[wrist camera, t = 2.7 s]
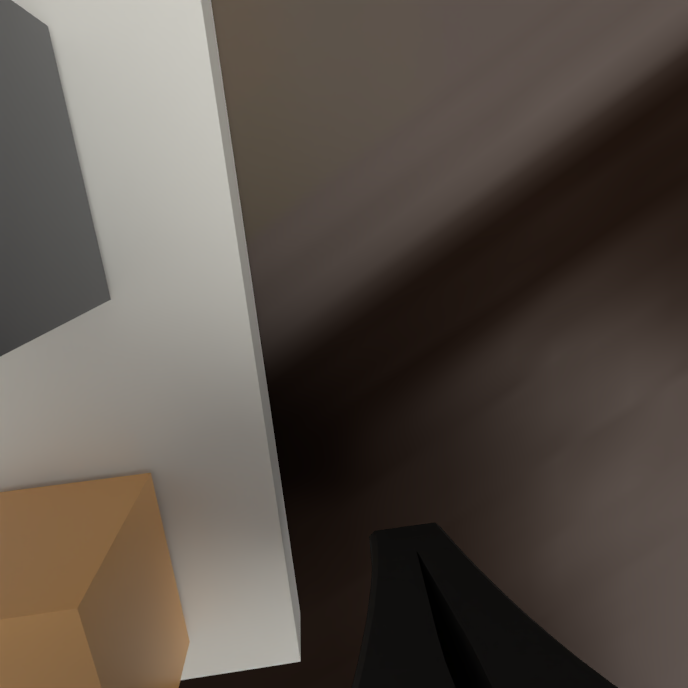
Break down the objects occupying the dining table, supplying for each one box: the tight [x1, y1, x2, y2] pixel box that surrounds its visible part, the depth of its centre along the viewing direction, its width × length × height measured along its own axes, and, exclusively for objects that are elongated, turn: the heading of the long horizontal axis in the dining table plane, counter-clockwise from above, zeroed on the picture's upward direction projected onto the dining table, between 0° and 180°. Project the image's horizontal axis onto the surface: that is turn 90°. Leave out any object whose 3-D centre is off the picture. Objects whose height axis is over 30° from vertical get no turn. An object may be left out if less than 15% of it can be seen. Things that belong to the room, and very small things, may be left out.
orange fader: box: [0, 473, 190, 688], centre depth 9 cm, size 4×3×4 cm
